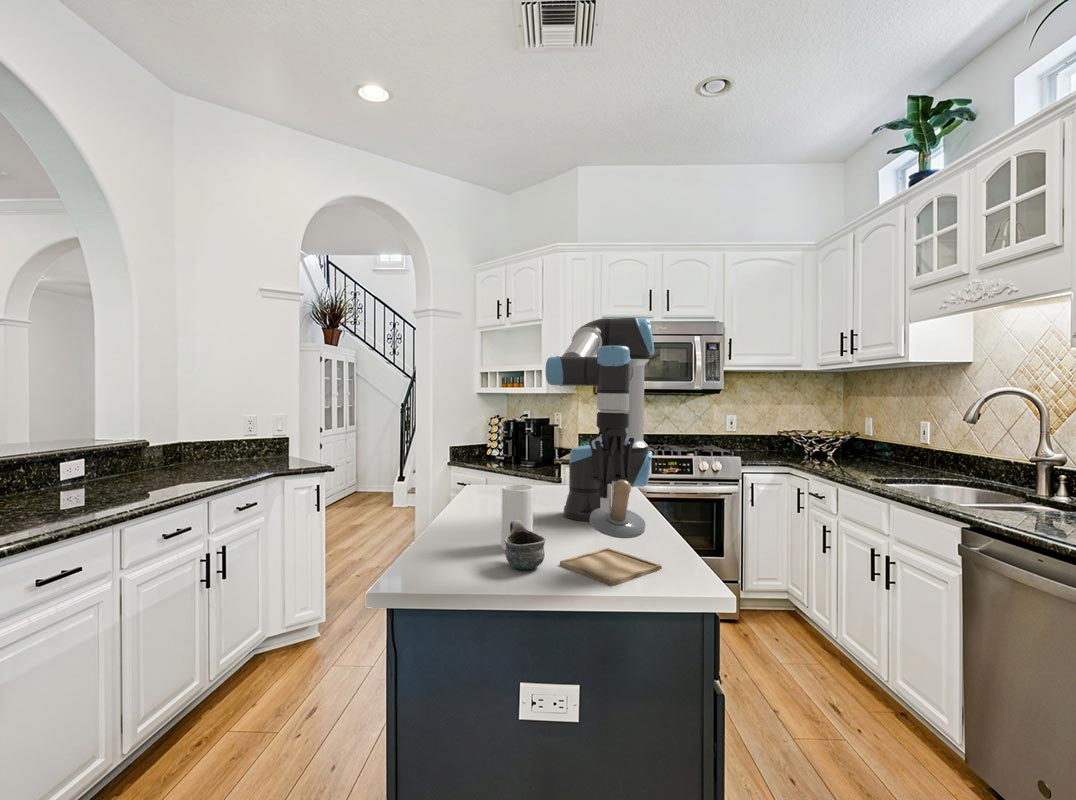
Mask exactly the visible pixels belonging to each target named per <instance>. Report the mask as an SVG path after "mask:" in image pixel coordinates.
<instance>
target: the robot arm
mask: <svg viewBox="0 0 1076 800" xmlns="http://www.w3.org/2000/svg"><path fill="white" fill-rule="evenodd" d="M652 328H653V327H652V324H651V321H650V320H649V318H646V317H620V318H619V317H617V318H611V317H610V318H606V317H605V318H604V317H603V318H598V319H595V320H591V321H589V322H587V323H585V324H584V325H581V326H580V327H579V328H577V329H576V331H575V332H574V333H573V335H572V338H571V343H570V344H569V345H568V347H567V349H566V350H565V352H564V353H563V354H562V355H561V356H559V355H556V356H550V357H548V358H547V359H546V362H545V379H546V382H547V384H549V385H551V386H559V387H563V386H565V387H566V386H567V387H568V386H569V387H575V386H576V387H579V386H580V387H583V386H584V387H597V389H596V390H597V391H596V393H597V394H596V395H597V397H596V400H597V401H596V408H597V410H598V412H597V413H596V427H597V428H598V434H597V437H596V438H595V439H590V440H589V442H588V443H589V444H585V445H581V446H580V445H579V446H576V447H573V448H571V450H570V452H569V453H570V454H569V461H568V465H569V470H568V471H569V474H568V475H569V478H568V480H569V481H568V483H569V484H568V486H569V488H568V489H569V490H568V495H567V499H566V502H565V505H564V507H563V516H564V517H565V518H567V519H570V520H575V521H582V522H583V521H584V522H590V514H591V513H592V511H594V510H595V509H598V508H600V510H601V511H605V512H608V513H609V512H611V507H612V501H613V494H614V484H615V483H616V482H617V481H618V480H626V481H628V482H629V483H630V485H631V488H635V487H638V488H640V487H641V488H643V487H646V486H647V485H648V482H649V479H650V473H651V472H650V471H651V466H652V458H653V452H652V451H651V450H649V445H648V443H646V441H644V419H645V417H644V416H645V414H644V413H645V366H646V364H647V363H649V361H650V359H651V358H650V356H652V355H654V354H655V346H654V337H653V330H652ZM596 355H597V356H596Z"/></svg>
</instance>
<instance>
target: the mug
mask: <svg viewBox="0 0 1076 800" xmlns="http://www.w3.org/2000/svg"><path fill="white" fill-rule="evenodd" d="M546 540H547V539H546V538H545V537H544V536H543V535H539V534H538V533H536V532H534V531H533V532H531V531H529V530H527V529H526V528H525V527H524V525H523V524H522V522H521V521H520V520H513V521H511V523H510V534H509V535H508V536H506V537H505V543H506V550H504V551H505V558H506V560H507V562H508V564H509V565H510V566H512V567H513V568H515V569H518V570H533V569H535V568H537V567H538V566H540V565H541V564H542V563H543V562H544V559H545V544H546Z"/></svg>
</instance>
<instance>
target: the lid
mask: <svg viewBox="0 0 1076 800" xmlns="http://www.w3.org/2000/svg"><path fill="white" fill-rule="evenodd" d="M631 491H632V487H631V485H630V483H629V482H628V481H626V480H618V481H617V482H616V483H615V484H614V494H613V501H612V500H611V512H609V513H608V512H605V511H601V510H600V508H598V509H595V510H594V511H592V513H591V514H590V521H589V524H590V525H591V527H592V528H593V529H594V530H596V531H597V532H598V533H601V534H602V535H604V536H608V537H611V538H616V539H633V538H637V537H640V536H641V535H643V534H644V532H645V531H646V521H645V519H644V518H643V517H642V516H640V515H639V514H637V513H636V512H634V511H632V510H630V509H629V510H628V506H629V501H630V500H629V498H630V493H631Z"/></svg>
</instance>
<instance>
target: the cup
mask: <svg viewBox="0 0 1076 800" xmlns="http://www.w3.org/2000/svg"><path fill="white" fill-rule="evenodd" d="M513 520H520V521H521V522H522V524H523V525H524V527H525V528H526V529H527V530H529V531H531V532H534V529H533V528H534V486H532V485H528V484H507V485H503V486H502V487H501V549H502V550H503V551H506V543H505V537H506V536H508V535H509V534H510V523H511V521H513Z"/></svg>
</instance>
